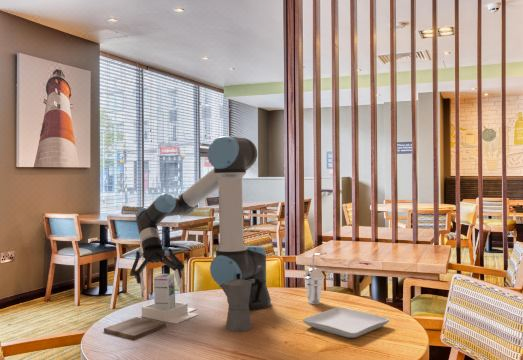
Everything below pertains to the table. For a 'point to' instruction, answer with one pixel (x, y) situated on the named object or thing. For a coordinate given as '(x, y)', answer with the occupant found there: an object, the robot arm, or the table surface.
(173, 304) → the syrup box
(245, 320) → the coffeepot
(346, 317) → the salad plate
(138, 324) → the walnut board
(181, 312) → the open carton
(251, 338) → the table surface
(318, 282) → the cup with straw
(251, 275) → the robot arm
